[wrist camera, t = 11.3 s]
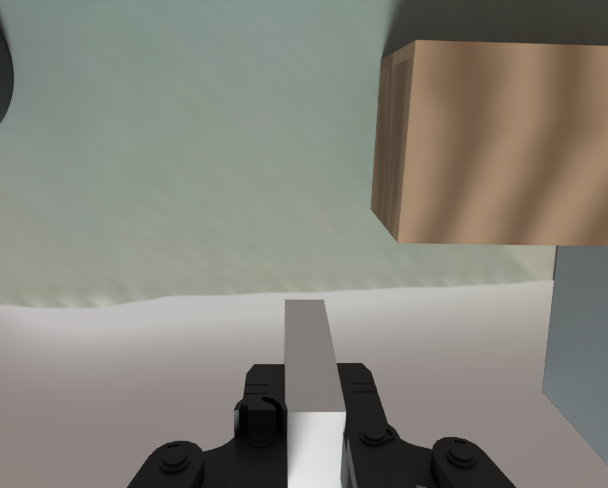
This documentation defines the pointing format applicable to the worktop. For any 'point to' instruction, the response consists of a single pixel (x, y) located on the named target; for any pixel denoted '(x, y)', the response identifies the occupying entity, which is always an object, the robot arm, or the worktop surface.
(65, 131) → the worktop surface
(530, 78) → the cabinet
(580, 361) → the cabinet door
